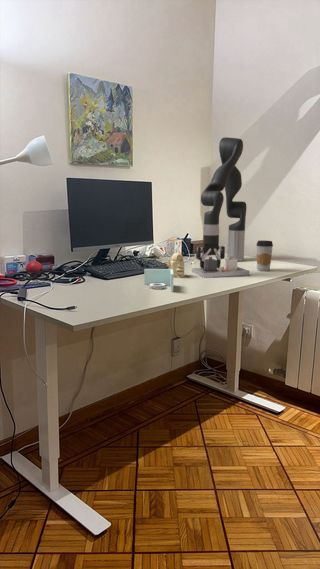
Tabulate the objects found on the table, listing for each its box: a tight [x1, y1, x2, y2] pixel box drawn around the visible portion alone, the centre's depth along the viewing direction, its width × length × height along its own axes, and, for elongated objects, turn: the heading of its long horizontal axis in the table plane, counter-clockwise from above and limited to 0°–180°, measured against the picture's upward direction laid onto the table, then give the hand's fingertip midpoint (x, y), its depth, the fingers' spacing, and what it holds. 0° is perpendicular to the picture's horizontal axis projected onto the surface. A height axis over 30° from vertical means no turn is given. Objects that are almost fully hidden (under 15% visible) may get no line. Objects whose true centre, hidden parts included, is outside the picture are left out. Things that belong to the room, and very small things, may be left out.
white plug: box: [223, 256, 238, 270], centre depth 226 cm, size 5×5×8 cm
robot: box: [166, 245, 188, 279], centre depth 214 cm, size 10×8×15 cm
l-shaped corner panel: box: [143, 268, 174, 292], centre depth 190 cm, size 12×12×8 cm
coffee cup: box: [256, 239, 274, 272], centre depth 237 cm, size 8×8×15 cm
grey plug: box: [204, 256, 217, 272], centre depth 222 cm, size 5×5×8 cm
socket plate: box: [191, 266, 250, 279], centre depth 224 cm, size 14×24×3 cm, turn 109°
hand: (210, 268), depth 222 cm, fingers open, 7 cm apart
